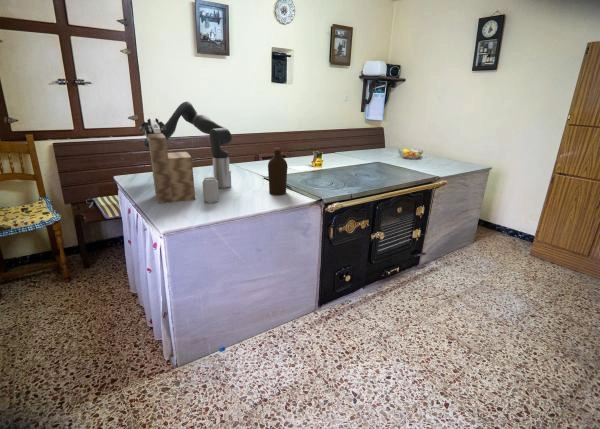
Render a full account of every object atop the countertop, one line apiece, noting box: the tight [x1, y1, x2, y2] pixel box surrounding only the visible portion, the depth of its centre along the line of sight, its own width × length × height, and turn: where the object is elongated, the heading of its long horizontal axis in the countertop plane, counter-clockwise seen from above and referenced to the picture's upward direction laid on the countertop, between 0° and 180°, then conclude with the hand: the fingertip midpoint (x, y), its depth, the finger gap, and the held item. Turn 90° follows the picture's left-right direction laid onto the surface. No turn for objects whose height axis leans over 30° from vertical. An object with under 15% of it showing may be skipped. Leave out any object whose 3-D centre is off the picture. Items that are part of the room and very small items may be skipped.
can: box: [202, 176, 220, 204], centre depth 173 cm, size 8×8×12 cm
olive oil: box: [267, 147, 288, 196], centre depth 187 cm, size 11×11×25 cm
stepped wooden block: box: [148, 133, 196, 204], centre depth 175 cm, size 18×16×32 cm
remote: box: [150, 119, 161, 133], centre depth 168 cm, size 3×26×2 cm, turn 26°
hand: (153, 120), depth 175 cm, fingers closed on remote, 2 cm apart
